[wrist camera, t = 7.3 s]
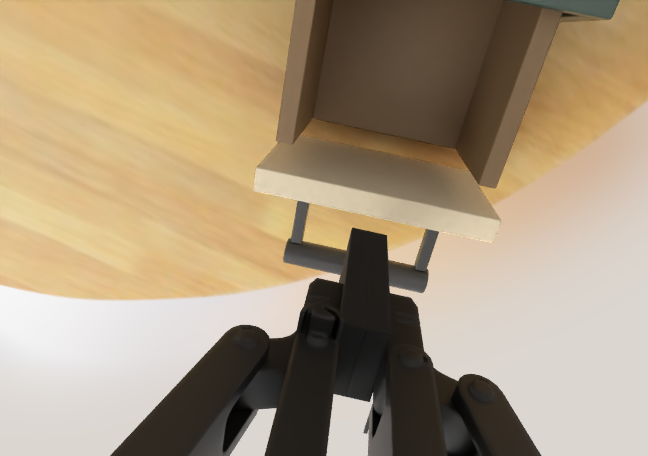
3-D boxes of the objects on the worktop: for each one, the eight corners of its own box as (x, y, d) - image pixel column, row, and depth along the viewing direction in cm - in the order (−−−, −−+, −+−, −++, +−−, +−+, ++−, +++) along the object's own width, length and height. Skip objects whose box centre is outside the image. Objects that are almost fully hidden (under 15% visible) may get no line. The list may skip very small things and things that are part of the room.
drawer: (439, 256, 29) (459, 327, 22) (274, 219, 29) (241, 279, 22) (551, -66, 21) (636, -113, 14) (325, -111, 22) (299, -180, 15)
